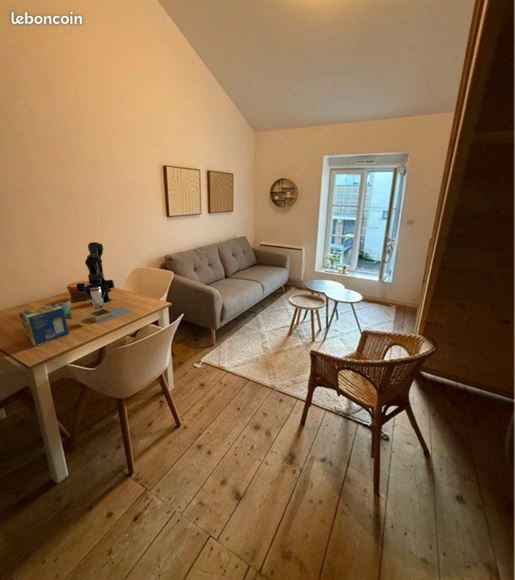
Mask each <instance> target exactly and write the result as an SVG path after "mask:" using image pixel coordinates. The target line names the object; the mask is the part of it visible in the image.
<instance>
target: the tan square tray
mask: <svg viewBox="0 0 515 580" xmlns="http://www.w3.org/2000/svg"><path fill="white" fill-rule="evenodd" d="M102 314H103V315H102ZM99 315H100V316H99ZM111 317H113V314H112V312H111V311H110V310H109V309H106V308H101V309H97V310H95V311H92V312H89V313H87V318H88V320H90V321H92V320H93V321H92V322H94V321H95V322H94V323H96V322H99V321H102V320H105V319H108V318H111Z"/></svg>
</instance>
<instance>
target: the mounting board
mask: <svg viewBox="0 0 515 580" xmlns="http://www.w3.org/2000/svg"><path fill="white" fill-rule="evenodd" d="M109 311H111V312H112V314H113V317H111V318H108V319H105V320H102V321H99V322H95V321H93V320H91V322H94V323H96V324H98V325H100V324H104V323H106V322H109V321H112V320H114V319H117V318H120V317H122V316H125V315H126V316H127V315H129V314H130V313H134V311H133V310H130V309H127V308H124V307H122V306H120V307H116V308H112V309H111V310H109ZM102 315H103V314H102ZM99 316H100V315H99ZM86 319H88V317H86ZM88 320H89V319H88Z"/></svg>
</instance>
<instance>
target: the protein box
mask: <svg viewBox="0 0 515 580" xmlns="http://www.w3.org/2000/svg"><path fill="white" fill-rule="evenodd" d="M55 304H56V303H50V304H47V305H44V306H43V305H42V306H39V307H36V308H32V309H29V310H25V311H22V312H19V314H18V315H19V316H20V320H21V324H22V326H23V327H22V328H23V330H24V333H25V337H26V341H27V340H28V341H27V342H29V343H30V342H31V343H30V344H31V345H33V344H34V345H38V344H41V343H44V342H46V341H49V340H52V339H55V338H58V337H61V336H64V335H66V336H68V335H67V334H69V335H70V332H69V331H70V330H69V328H68V324H67V320H66V319H65V315H64V311H63V308H62V307H60V306H58V305H55ZM64 337H65V336H64ZM61 338H62V337H61ZM58 339H59V338H58ZM55 340H56V339H55ZM44 344H45V343H44ZM34 345H33V346H34Z"/></svg>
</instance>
